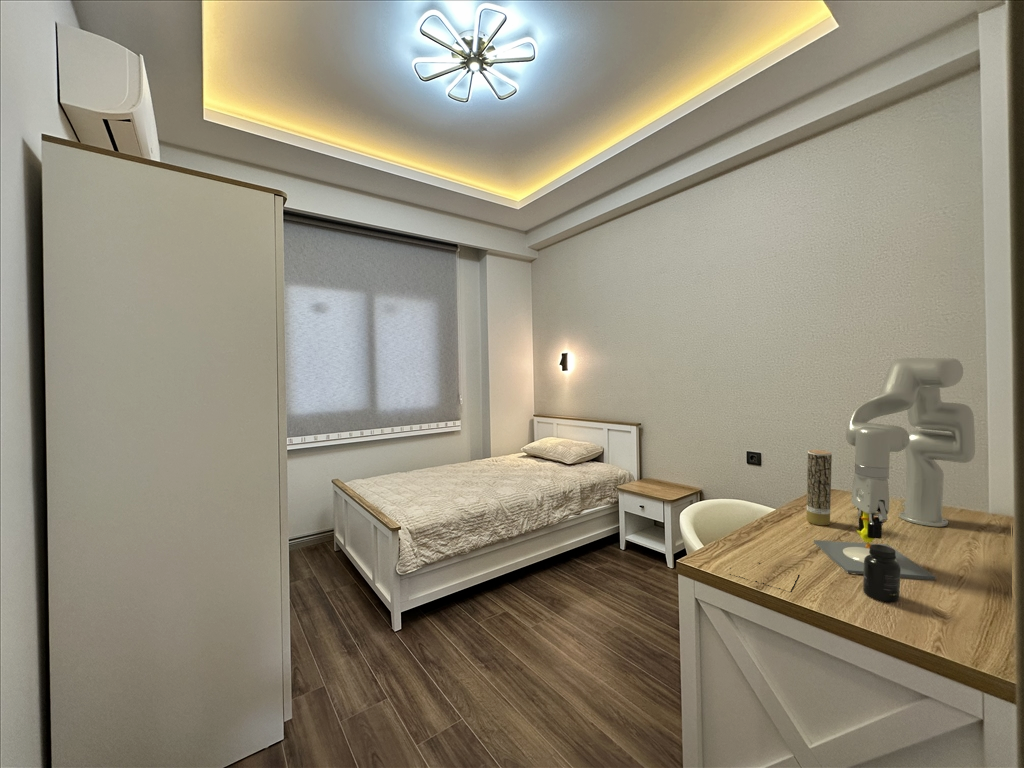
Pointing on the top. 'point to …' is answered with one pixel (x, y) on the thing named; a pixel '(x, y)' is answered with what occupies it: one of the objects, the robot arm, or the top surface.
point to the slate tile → (855, 553)
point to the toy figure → (866, 530)
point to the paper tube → (819, 487)
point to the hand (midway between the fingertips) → (869, 534)
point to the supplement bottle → (881, 574)
